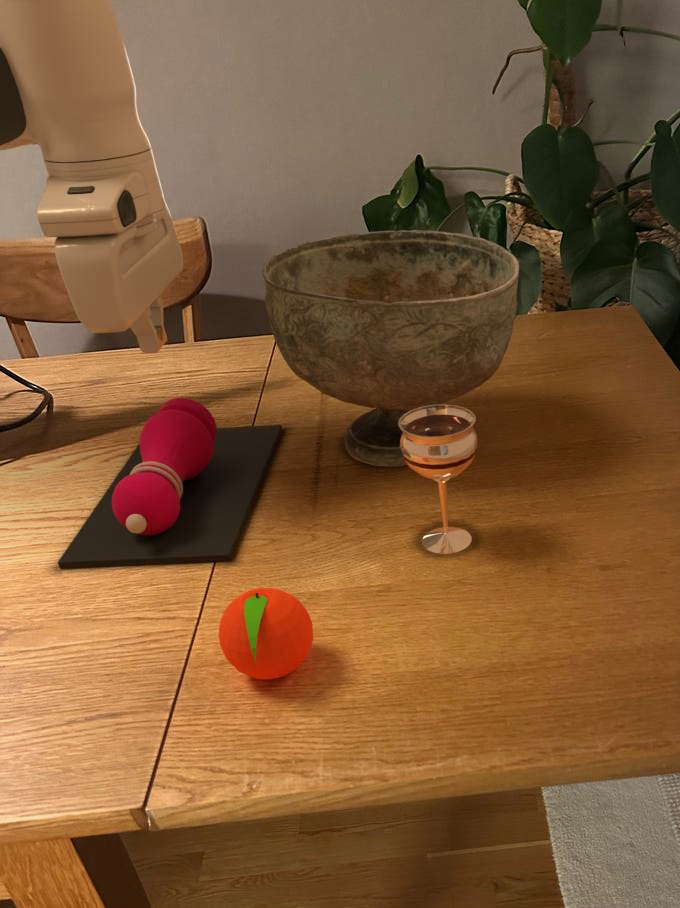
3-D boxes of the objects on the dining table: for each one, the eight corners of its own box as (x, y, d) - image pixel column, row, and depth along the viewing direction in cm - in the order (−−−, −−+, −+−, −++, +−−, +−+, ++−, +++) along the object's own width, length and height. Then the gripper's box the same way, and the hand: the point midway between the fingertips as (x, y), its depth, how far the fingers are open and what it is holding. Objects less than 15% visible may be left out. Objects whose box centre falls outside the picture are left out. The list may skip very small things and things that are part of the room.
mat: (60, 569, 78) (57, 562, 77) (149, 437, 99) (147, 431, 99) (230, 562, 77) (229, 554, 77) (283, 430, 99) (281, 424, 99)
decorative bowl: (275, 408, 103) (244, 234, 90) (473, 379, 109) (470, 211, 96) (311, 518, 84) (277, 317, 71) (548, 475, 90) (558, 282, 77)
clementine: (316, 703, 62) (298, 628, 57) (221, 712, 62) (196, 637, 57) (323, 636, 68) (307, 563, 64) (237, 644, 68) (216, 571, 63)
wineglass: (476, 517, 81) (469, 400, 74) (488, 555, 76) (483, 432, 69) (407, 526, 81) (393, 408, 73) (415, 565, 76) (401, 442, 68)
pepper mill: (235, 431, 91) (191, 536, 76) (190, 465, 94) (139, 573, 79) (184, 380, 87) (127, 480, 72) (138, 417, 90) (74, 521, 75)
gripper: (112, 170, 81) (154, 315, 90) (26, 220, 65) (87, 390, 74) (177, 166, 81) (212, 312, 90) (106, 215, 65) (157, 386, 74)
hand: (155, 348), depth 82 cm, fingers closed
